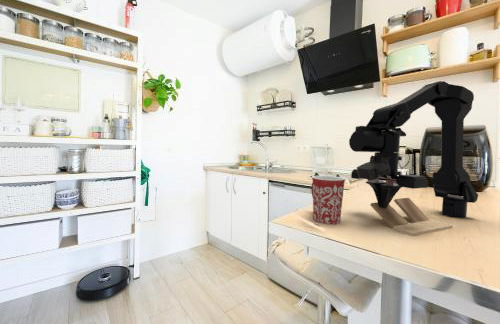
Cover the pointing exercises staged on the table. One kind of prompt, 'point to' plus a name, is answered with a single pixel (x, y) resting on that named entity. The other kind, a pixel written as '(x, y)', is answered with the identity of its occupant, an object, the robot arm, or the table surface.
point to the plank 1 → (389, 215)
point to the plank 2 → (411, 210)
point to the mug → (327, 198)
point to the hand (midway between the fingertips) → (382, 207)
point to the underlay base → (422, 227)
